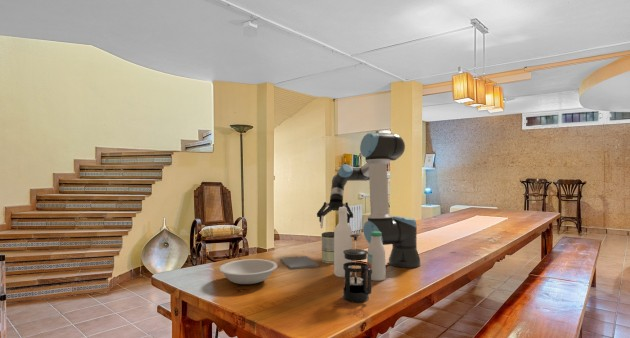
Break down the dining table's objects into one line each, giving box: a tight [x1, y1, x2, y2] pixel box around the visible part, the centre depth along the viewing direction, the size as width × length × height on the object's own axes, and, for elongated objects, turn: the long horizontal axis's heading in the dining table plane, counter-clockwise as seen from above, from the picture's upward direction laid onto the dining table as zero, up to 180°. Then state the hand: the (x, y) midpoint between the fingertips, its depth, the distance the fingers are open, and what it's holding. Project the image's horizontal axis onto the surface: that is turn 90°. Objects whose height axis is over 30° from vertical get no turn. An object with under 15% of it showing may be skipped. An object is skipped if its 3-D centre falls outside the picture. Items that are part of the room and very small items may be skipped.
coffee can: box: [321, 231, 334, 264], centre depth 182 cm, size 10×10×14 cm
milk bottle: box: [366, 231, 387, 282], centre depth 152 cm, size 8×8×20 cm
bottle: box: [333, 206, 353, 278], centre depth 157 cm, size 8×8×30 cm
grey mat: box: [280, 255, 320, 270], centre depth 177 cm, size 18×14×1 cm
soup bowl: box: [218, 258, 278, 285], centre depth 148 cm, size 24×24×7 cm
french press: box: [342, 233, 372, 304], centre depth 128 cm, size 12×9×23 cm
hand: (333, 226), depth 192 cm, fingers open, 13 cm apart
